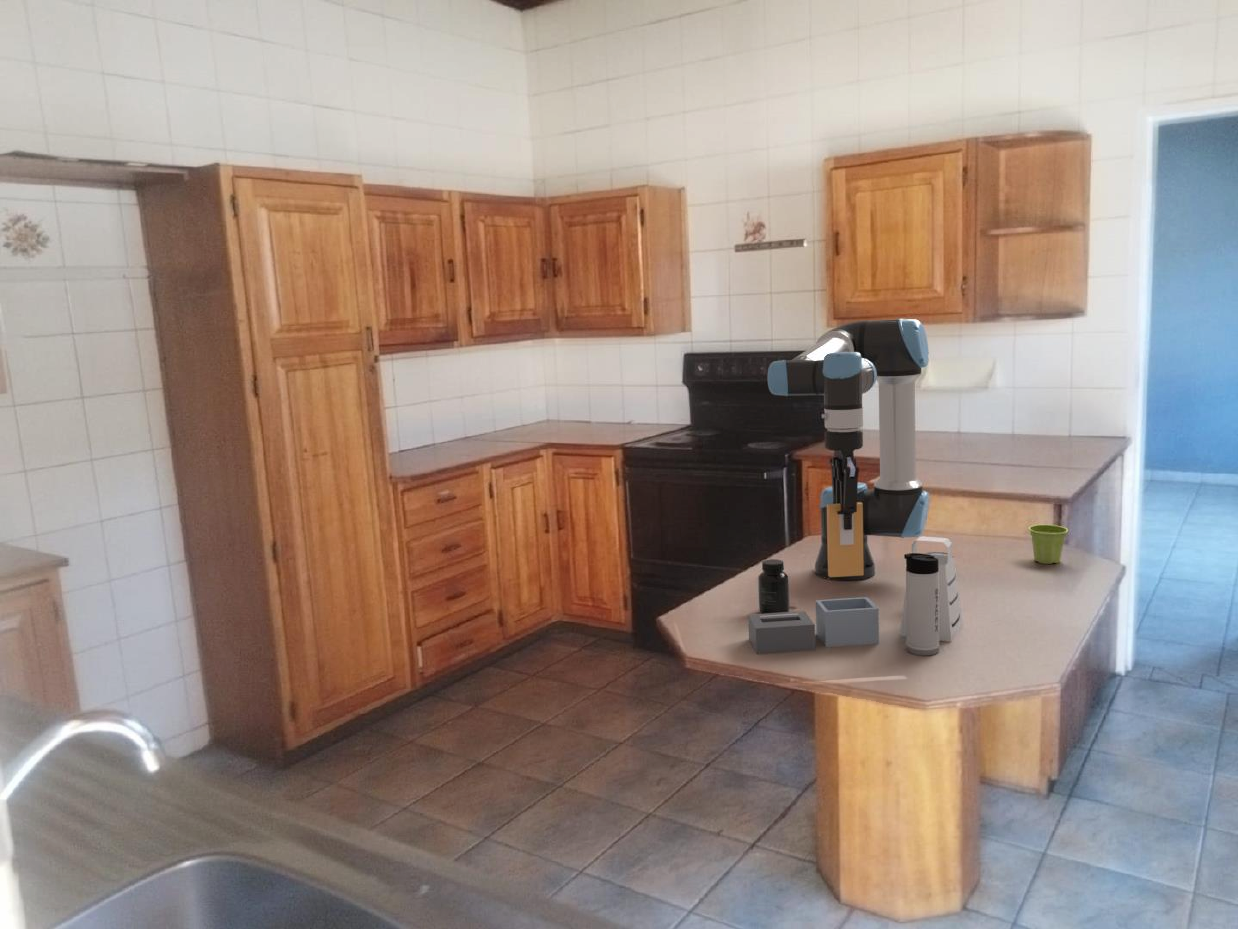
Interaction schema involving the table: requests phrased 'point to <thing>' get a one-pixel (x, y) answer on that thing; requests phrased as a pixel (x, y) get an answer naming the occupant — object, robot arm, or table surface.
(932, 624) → the travel mug
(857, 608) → the bin
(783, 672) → the table surface
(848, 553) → the orange rectangular block
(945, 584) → the grater
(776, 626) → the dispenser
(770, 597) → the supplement bottle
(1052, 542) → the plant pot
